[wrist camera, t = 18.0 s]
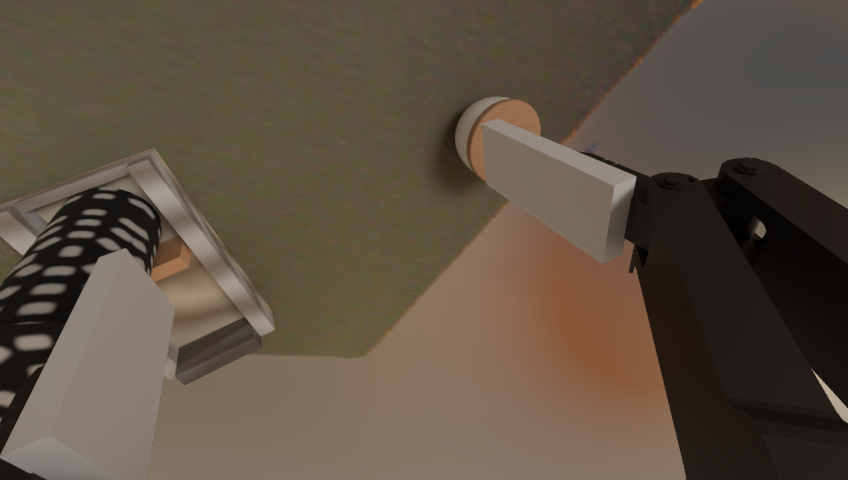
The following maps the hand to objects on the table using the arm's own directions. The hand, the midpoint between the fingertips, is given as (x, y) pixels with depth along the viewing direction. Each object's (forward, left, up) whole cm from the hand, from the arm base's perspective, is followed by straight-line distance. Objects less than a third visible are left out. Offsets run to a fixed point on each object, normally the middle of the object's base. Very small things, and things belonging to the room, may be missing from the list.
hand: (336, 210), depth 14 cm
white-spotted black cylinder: (+8, -20, -31) cm, 38 cm away
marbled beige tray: (+16, -20, -33) cm, 42 cm away
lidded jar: (+15, +24, -33) cm, 44 cm away
